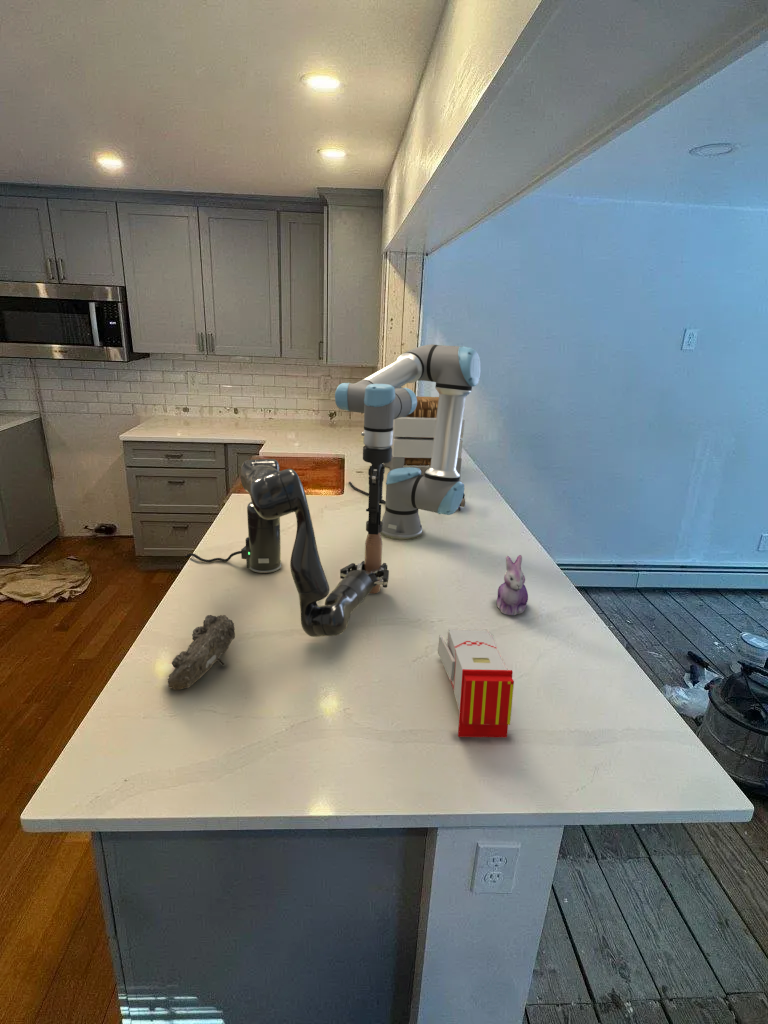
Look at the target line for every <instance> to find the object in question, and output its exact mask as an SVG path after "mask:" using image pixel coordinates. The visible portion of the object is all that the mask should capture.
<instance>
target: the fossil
mask: <svg viewBox="0 0 768 1024" xmlns="http://www.w3.org/2000/svg"><path fill="white" fill-rule="evenodd" d="M202 623H203V625H201V626H196V627H195V628H194V629H193V630H192V634H191V636H192V641H191V643H190V644H189V646H188V648H187V650H182V651H181V652H179V654H177V655H175V657H174V658H173V659H172V661H171V666H172V667H173V670H172V672H170V674H169V675H168V676H167V677H168V678H167V684H168V688H169V689H173V690H174V691H179V690H184V689H186V688H187V689H189V688H190V687H192V686H193V685H194V684H195V683H196V682H197V681H198V680H200V679H201V677H203V676H204V675H205V674H206V673H207V672H208V671H209V670H211V668H212V667H213V664H215V663H216V662H219V664H220V665H222V666H225V662H223V660H222V659H221V658H220V657H221V655H222V654H226V652H227V650H228V649H229V647H230V645H231V643H232V641H233V640H234V639H235V638H236V631H235V630H236V628H235V627H236V626H235V623H234V621H233V619H229V617H228V616H227V615H226V614H223V615H222V614H220V615H217V616H216V615H212V614H206V616H205V617H204V619H203V622H202Z"/></svg>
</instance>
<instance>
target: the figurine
mask: <svg viewBox="0 0 768 1024" xmlns="http://www.w3.org/2000/svg"><path fill="white" fill-rule="evenodd" d="M522 562H523V555H522V554H519V555H518V556H517V557H516V559H515V561H513V560H512V558H511V556H509V555H506V556H505V566H506V567H505V569H506V571H505V573H504V576H503V581H504V582H502V584H500V585H499V586H498V589H497V598H496V607H497V608H498V610H500V612H501V614H503V615H508V616H516V615H518V614H523V612H524V611H525V610H526V607H527V603H528V601H529V594H528V590H527V587H526V585H525V583H526V576H525V574H524V571H523V569H522V564H523V563H522Z"/></svg>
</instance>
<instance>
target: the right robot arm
mask: <svg viewBox="0 0 768 1024" xmlns="http://www.w3.org/2000/svg"><path fill="white" fill-rule="evenodd" d="M481 370H482V365H481V359H480V355H479V353H478V352H477V350H476V349H475V348H473V347H469V346H463V345H460V346H459V345H457V346H456V345H444V344H443V345H442V344H432V343H431V344H425V345H421V346H418V347H415V348H412V349H409V350H407V351H405V352H403V353H402V354H400V355H399V356H397V358H396V359H395V361H394V362H392V363H390V364H388V365H386V366H384V367H383V368H381V369H379V370H377V371H375V372H373V373H372V374H370V375H368V376H367V377H365V378H363V379H361V380H359V381H357V382H355V383H351V382H342V383H340V384H338V386H337V387H336V389H335V393H334V402H335V405H336V407H337V408H338V409H340V410H343V411H346V412H349V413H350V412H354V413H359V414H360V413H361V414H363V431H362V432H361V433H360V435H361V436H362V437H363V445H364V446H363V447H362V460H363V462H366V463H369V464H371V465H369V468H368V469H367V471H368V472H367V474H368V492H367V491H365V490H362V489H360V488H358V487H357V486H355V485H353V482H351V481H348V484H349V485H350V487H351V488H352V489H354V490H355V491H357V492H360V493H362V494H364V495H366V496H368V504H367V508H366V509H365V511H366V512H368V519H367V521H368V532H367V535H368V534H376V535H378V530H379V520H380V521H382V522H383V531H382V532H380V535H381V536H382V537H385V538H387V539H389V540H395V541H410V540H415V539H418V538H420V537H421V536H422V535H423V525H422V524H421V518H420V515H419V510H421V511H426V512H429V513H436V514H438V515H445V516H451V515H453V514H454V513H456V512H457V510H459V509H458V507H459V505H460V503H461V501H462V498H463V495H464V494H465V485H464V482H462V481H461V480H460V481H459V478H460V479H461V474H460V475H459V474H458V472H457V471H456V466H457V459H458V451H459V444H460V439H461V438H460V437H461V429H462V422H463V419H464V414H465V406H466V398H467V396H468V395H469V394H471V393H472V390H473V387H477V386H478V385H479V382H480V380H481V373H482V372H481ZM418 381H420V382H421V381H423V382H432V383H435V391H437V392H438V397H439V400H438V408H437V417H436V425H435V433H434V441H433V449H432V457H431V465H430V466H429V468H427V469H426V470H424V474H422V470H421V468H419V467H414V466H411V467H409V466H406V467H405V466H404V468H397V469H393V470H391V471H390V470H389V471H388V473H387V475H386V480H385V500H384V499H383V483H384V479H385V472H386V468H385V467H386V466H384V464H385V463H389V462H390V461H391V460H392V448H391V447H390V446H392V445H393V421H394V419H397V418H401V417H406V416H407V415H409V414H411V413H412V412H413V411H414V410H415V409H416V406H417V398H416V397H417V395H416V393H415V392H414V390H413V389H411V388H408V387H404V386H405V385H407V384H413V383H416V382H418ZM400 387H402V388H400ZM383 463H384V464H383ZM382 505H385V507H384V508H385V509H384V513H383V515H382Z"/></svg>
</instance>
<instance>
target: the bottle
mask: <svg viewBox="0 0 768 1024" xmlns="http://www.w3.org/2000/svg"><path fill="white" fill-rule="evenodd" d="M364 561H365V562H364V570H365V571H371V570H373V569H379V568H380V566H381V565H382V564H383V563H382V561H383V539H382V535H381V534H380V533H378V535H376V534H368V533H367V535H366V538H365V541H364ZM380 579H381V578H380ZM380 591H381V585H379V584H377V585H376V586H375V587H373V588H372V590H371V592H370V593H369V594H377V593H379V592H380Z"/></svg>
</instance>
